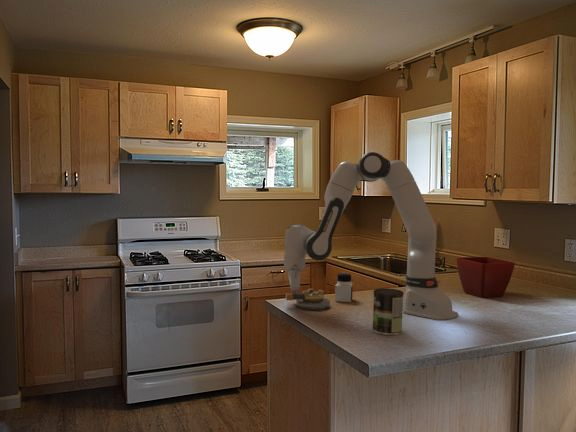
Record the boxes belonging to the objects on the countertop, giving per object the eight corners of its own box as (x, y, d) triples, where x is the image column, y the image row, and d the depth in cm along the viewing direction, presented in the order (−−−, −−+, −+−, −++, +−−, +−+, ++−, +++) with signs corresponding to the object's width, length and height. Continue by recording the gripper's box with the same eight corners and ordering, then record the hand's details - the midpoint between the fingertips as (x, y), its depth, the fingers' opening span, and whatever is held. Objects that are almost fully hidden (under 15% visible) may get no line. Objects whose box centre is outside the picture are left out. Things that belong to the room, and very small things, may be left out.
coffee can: (376, 335, 169) (377, 294, 168) (369, 327, 179) (370, 288, 178) (406, 335, 169) (407, 294, 169) (397, 326, 180) (398, 288, 179)
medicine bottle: (351, 302, 217) (351, 275, 216) (334, 301, 218) (335, 274, 217) (352, 299, 224) (353, 272, 223) (336, 298, 225) (337, 271, 224)
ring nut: (320, 296, 214) (320, 288, 213) (326, 301, 205) (326, 292, 205) (283, 298, 210) (283, 289, 209) (288, 302, 201) (289, 293, 201)
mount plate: (336, 307, 207) (336, 300, 207) (311, 312, 198) (311, 305, 198) (314, 300, 218) (314, 294, 218) (289, 305, 209) (289, 298, 209)
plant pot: (514, 297, 233) (516, 261, 232) (482, 300, 226) (484, 263, 225) (484, 289, 251) (485, 256, 250) (454, 291, 244) (455, 257, 243)
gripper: (303, 267, 197) (303, 301, 198) (300, 259, 218) (299, 291, 219) (288, 267, 197) (287, 301, 198) (286, 259, 217) (285, 290, 218)
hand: (293, 296), depth 208 cm, fingers closed
